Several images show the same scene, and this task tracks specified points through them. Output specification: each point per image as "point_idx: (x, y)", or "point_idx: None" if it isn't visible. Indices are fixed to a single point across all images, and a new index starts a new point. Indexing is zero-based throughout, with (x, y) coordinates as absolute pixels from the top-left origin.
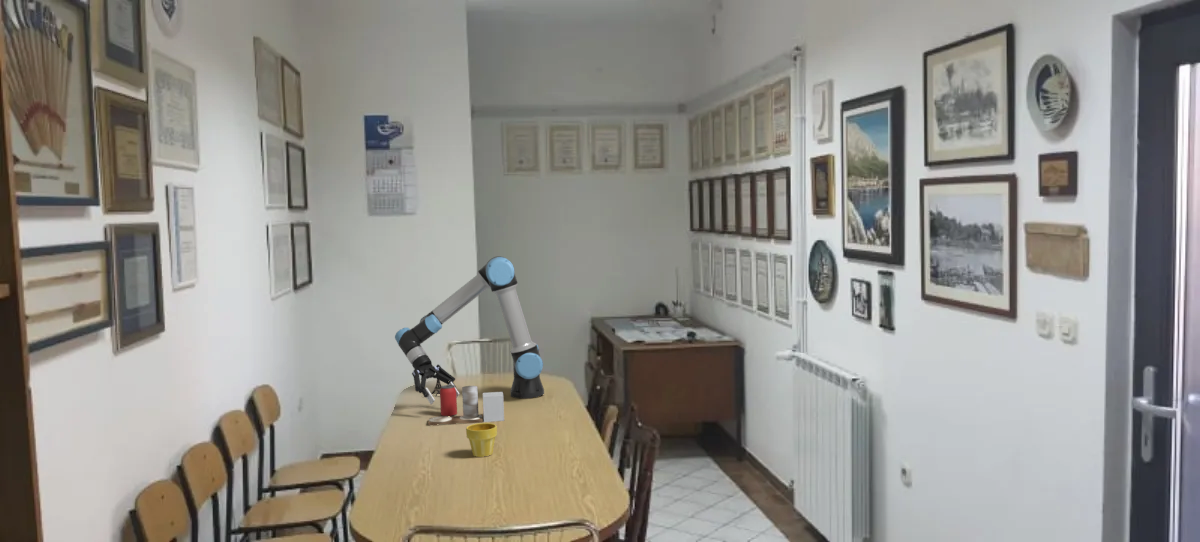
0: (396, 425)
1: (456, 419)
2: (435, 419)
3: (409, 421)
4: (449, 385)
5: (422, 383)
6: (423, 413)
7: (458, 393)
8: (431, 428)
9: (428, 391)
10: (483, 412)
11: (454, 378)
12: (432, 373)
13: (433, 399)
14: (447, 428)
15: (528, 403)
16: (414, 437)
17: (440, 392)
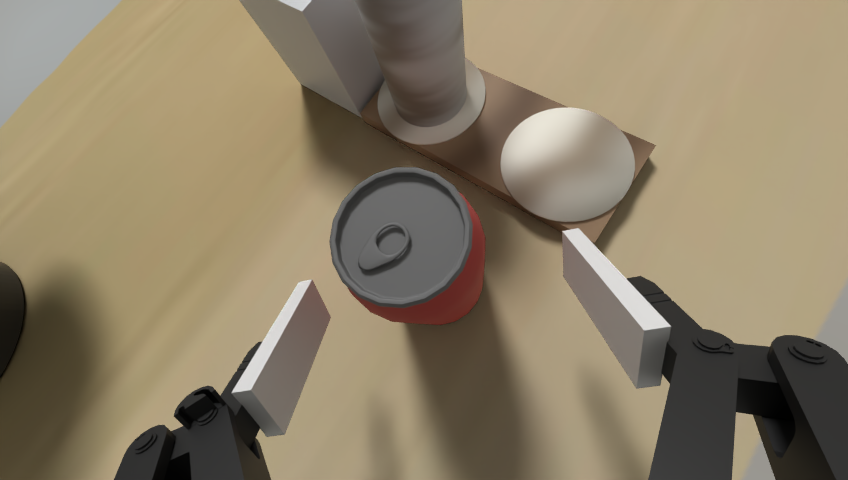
0: (823, 301)
1: (501, 108)
2: (592, 170)
3: None
4: (349, 276)
5: (733, 421)
6: (521, 459)
7: (306, 283)
8: (658, 100)
9: (626, 287)
10: (365, 81)
11: (141, 438)
12: None
13: (579, 231)
14: (592, 55)
15: (91, 197)
16: (810, 8)
17: (484, 259)
